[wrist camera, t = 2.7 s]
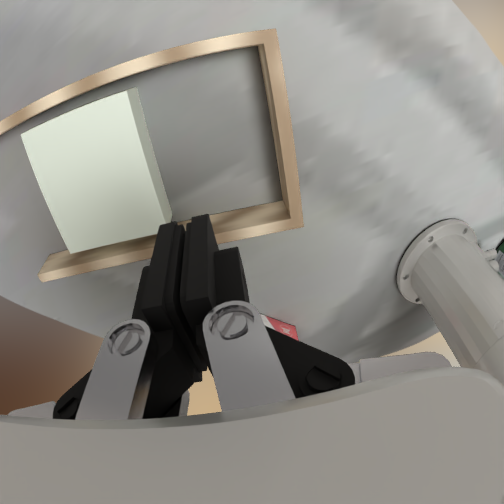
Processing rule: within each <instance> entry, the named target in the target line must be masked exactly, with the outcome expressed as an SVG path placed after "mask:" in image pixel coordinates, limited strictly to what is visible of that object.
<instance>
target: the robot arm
mask: <svg viewBox="0 0 504 504" xmlns="http://www.w3.org/2000/svg"><path fill="white" fill-rule="evenodd" d="M496 257H497V251H496V250H495V249H494V248H493V249H490V250H487V251H485V252H484V251H483V250H482V249H481V248H480V247H479V246H478V245H477V237H476V234H475V232H474V230H473V229H472V228H471V227H470V226H469V225H468V224H467V223H465V222H464V221H461V220H458V219H449V220H444V221H441V222H439V223H436V224H434V225H433V226H431V227H429V228H428V229H426V230H425V231H424V232H423V233H421V234H420V235H419V236H418V237H417V238H416V239H415V240H414V241H413V242H412V244H411V245H410V246H409V248H408V249H407V251H406V252H405V254H404V256H403V258H402V260H401V262H400V265H399V268H398V272H397V285H398V289H399V290H400V292H401V294H402V295H403V296H404V298H405V299H406V300H408V301H409V302H411V303H415V304H423V305H424V307H425V308H426V310H427V311H428V313H429V314H430V316H431V317H432V319H433V321H434V322H435V324H436V325H437V327H438V329H439V330H440V332H441V334H442V335H443V337H444V338H445V340H446V342H447V344H448V345H449V347H450V349H451V350H452V352H453V354H454V355H455V357H456V359H457V361H458V362H459V364H460V366H461V367H452V366H451V365H450V362H449V361H448V360H447V359H446V358H445V357H444V356H443V355H440V354H438V353H435V352H422V353H414V354H406V355H397V356H388V357H378V358H367V359H360V361H359V363H349V364H347V363H346V362H344V361H343V360H341V359H339V358H337V357H335V356H332V355H330V354H328V353H325V352H323V351H321V350H318V349H316V348H314V347H312V346H309V345H307V344H305V343H303V342H300V341H298V340H296V339H294V338H291V337H289V336H287V335H285V334H283V333H280V332H278V331H276V330H274V329H272V328H270V327H267V326H265V325H264V323H263V320H262V318H261V315H260V313H259V311H258V310H257V309H256V307H255V306H253V305H252V304H250V302H249V296H248V290H247V284H246V279H245V274H244V270H243V265H242V261H241V257H240V253H239V249H238V247H234V248H229V249H224V250H220V251H219V249H218V245H217V242H216V238H215V234H214V231H213V227H212V224H211V220H210V217H209V214H205V215H201V216H196V217H192V221H191V222H189V223H187V224H186V231H185V228H184V226H183V224H180V225H178V224H177V222H176V221H175V222H170V223H166V224H162V225H160V226H159V229H158V233H157V237H156V241H155V245H154V250H153V254H152V258H151V263H150V266H145V267H144V268H143V271H142V275H141V279H140V283H139V288H138V292H137V296H136V301H135V306H134V310H133V315H132V319H130V320H125V321H123V322H120V323H118V324H117V325H116V326H114V327H113V328H112V329H111V330H110V331H109V332H108V333H107V335H106V336H105V338H104V340H103V343H102V345H101V348H100V351H99V353H98V356H97V358H96V361H95V364H94V366H93V369H92V370H91V371H90V372H88V373H87V374H86V375H85V376H84V377H83V378H82V379H80V380H79V381H78V382H77V383H76V384H75V385H74V386H73V387H72V388H70V389H69V390H68V391H67V392H66V393H65V394H64V395H63V396H62V397H61V398H60V399H59V400H58V401H57V403H55V402H54V401H52V402H48V403H44V404H40V405H36V406H32V407H27V408H23V409H18V410H14V411H12V412H10V413H9V414H8V415H0V504H504V279H503V278H502V277H501V276H500V275H499V274H498V271H499V264H498V262H497V261H496V260H492V259H495V258H496ZM489 260H491V261H489ZM207 366H208V368H209V370H210V372H211V374H212V376H213V378H214V381H215V385H216V389H217V393H218V397H219V401H220V405H221V409H222V412H216V413H208V414H200V415H191V416H187V411H188V405H189V391H188V389H189V388H190V387H191V386H192V385H193V383H194V382H201V381H202V371H206V370H207Z"/></svg>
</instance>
